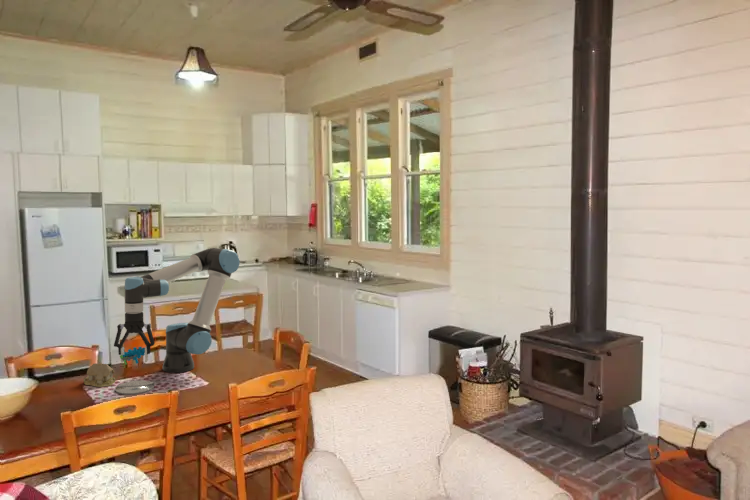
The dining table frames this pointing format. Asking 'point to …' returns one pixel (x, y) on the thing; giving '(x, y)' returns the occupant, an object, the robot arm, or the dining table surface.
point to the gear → (133, 354)
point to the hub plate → (134, 387)
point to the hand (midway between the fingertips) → (134, 361)
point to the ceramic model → (99, 375)
